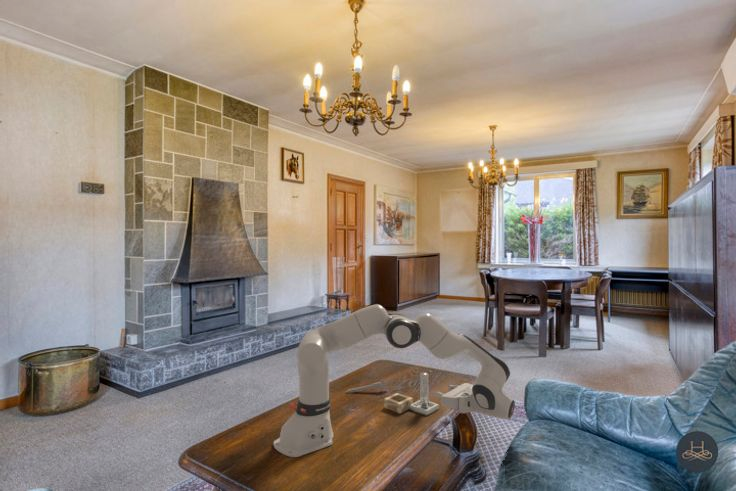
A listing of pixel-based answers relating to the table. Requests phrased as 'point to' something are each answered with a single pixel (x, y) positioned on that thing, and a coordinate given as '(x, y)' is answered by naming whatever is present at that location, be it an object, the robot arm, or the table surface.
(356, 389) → the caliper
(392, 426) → the table surface
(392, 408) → the bore block
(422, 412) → the tray
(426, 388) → the grey rounded cylinder
